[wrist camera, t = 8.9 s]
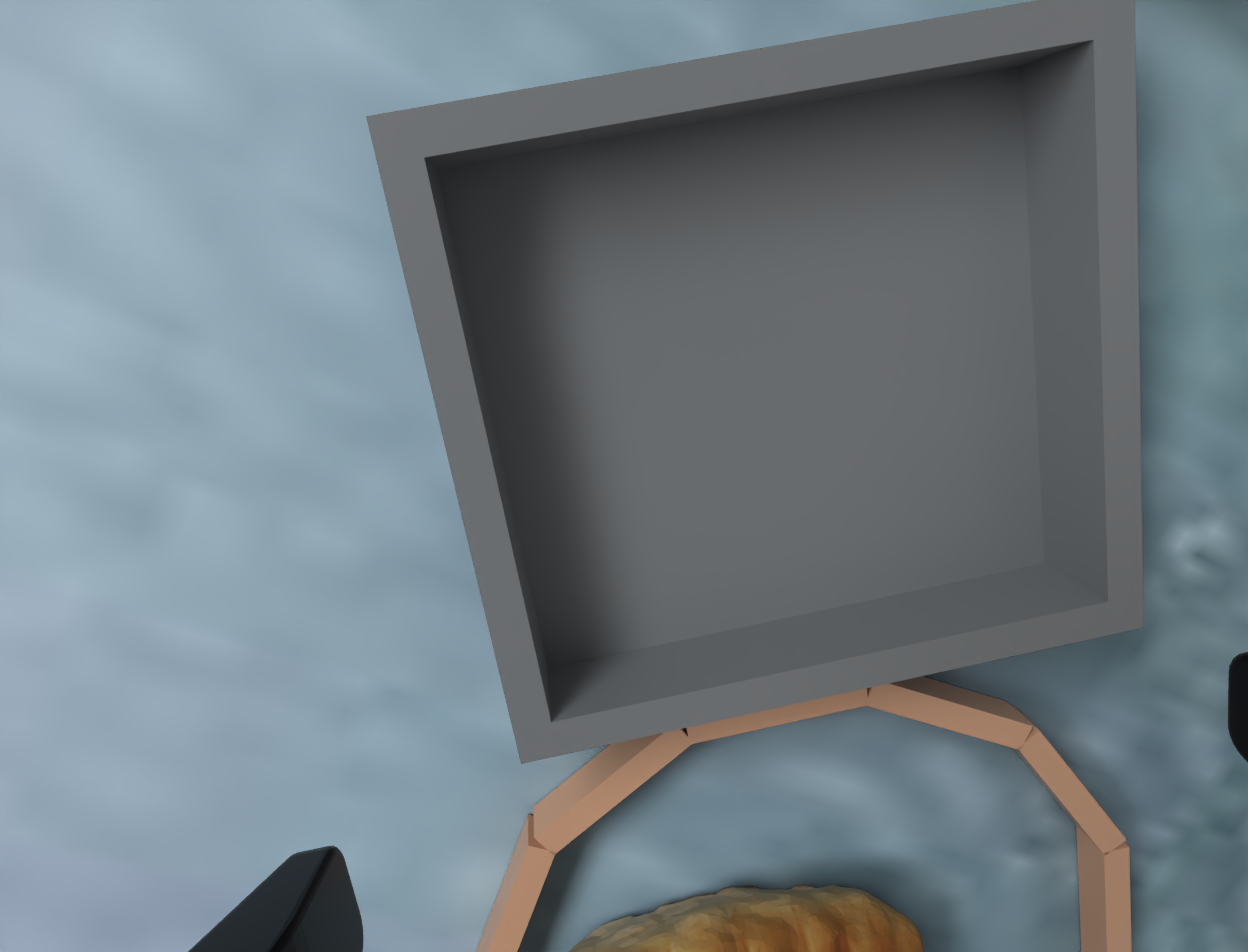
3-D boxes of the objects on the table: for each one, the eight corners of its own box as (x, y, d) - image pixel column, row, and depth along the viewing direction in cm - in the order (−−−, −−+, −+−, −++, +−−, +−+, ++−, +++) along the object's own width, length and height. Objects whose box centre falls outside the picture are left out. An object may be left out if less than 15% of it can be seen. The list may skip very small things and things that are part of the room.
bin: (1062, 577, 22) (1143, 627, 19) (521, 692, 21) (521, 763, 18) (1039, 24, 19) (1134, -17, 16) (392, 137, 18) (366, 116, 15)
